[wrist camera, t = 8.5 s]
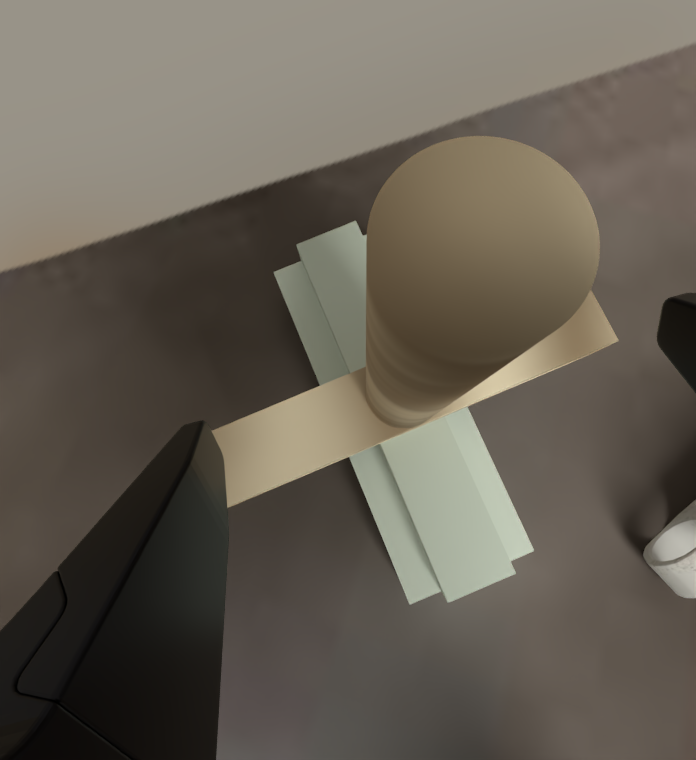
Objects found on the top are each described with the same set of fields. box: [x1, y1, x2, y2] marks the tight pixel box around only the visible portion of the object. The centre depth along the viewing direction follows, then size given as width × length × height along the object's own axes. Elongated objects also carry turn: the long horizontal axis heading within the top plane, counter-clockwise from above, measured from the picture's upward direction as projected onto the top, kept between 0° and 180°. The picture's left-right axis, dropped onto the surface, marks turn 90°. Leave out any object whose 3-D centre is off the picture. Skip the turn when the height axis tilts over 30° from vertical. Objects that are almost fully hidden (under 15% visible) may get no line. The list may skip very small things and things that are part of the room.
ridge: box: [274, 221, 534, 605], centre depth 19 cm, size 14×5×4 cm, turn 23°
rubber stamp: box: [212, 136, 619, 508], centre depth 11 cm, size 14×2×12 cm, turn 113°
